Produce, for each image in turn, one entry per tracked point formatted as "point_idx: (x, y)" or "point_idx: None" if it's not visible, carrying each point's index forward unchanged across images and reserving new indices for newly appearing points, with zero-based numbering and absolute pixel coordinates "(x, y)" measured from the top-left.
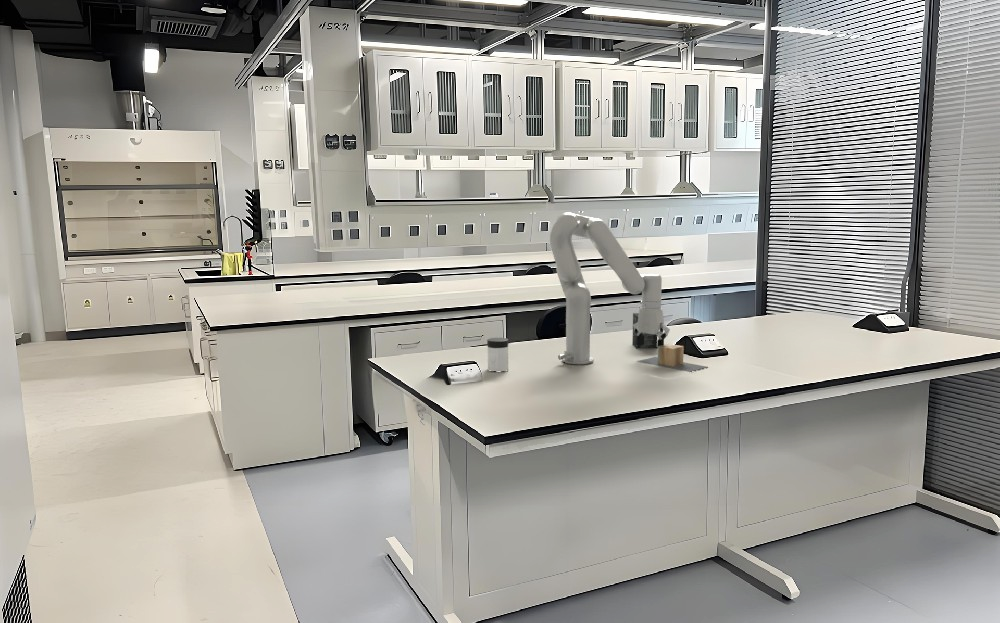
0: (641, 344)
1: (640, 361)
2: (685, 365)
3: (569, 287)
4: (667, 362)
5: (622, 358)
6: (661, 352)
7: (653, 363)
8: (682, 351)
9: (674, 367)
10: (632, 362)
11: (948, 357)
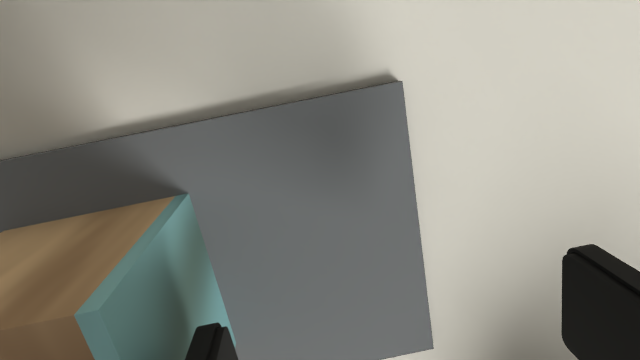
0: (571, 301)
1: (367, 111)
2: None
3: None
4: (44, 231)
5: (617, 77)
6: (72, 268)
7: (217, 164)
8: None
9: None
10: (418, 37)
11: None
